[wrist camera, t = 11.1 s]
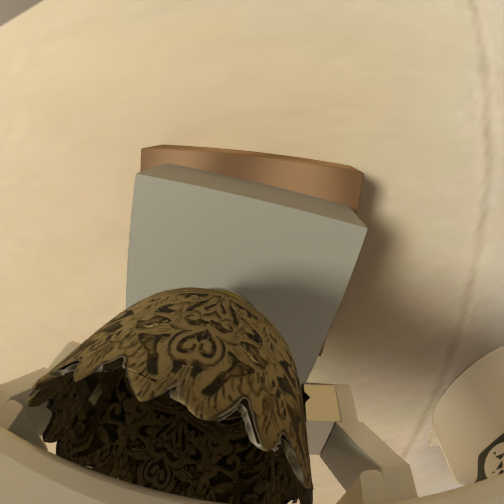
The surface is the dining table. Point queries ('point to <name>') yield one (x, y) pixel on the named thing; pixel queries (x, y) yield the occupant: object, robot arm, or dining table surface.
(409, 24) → the dining table surface
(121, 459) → the cup
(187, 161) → the tower base
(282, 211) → the tower top
